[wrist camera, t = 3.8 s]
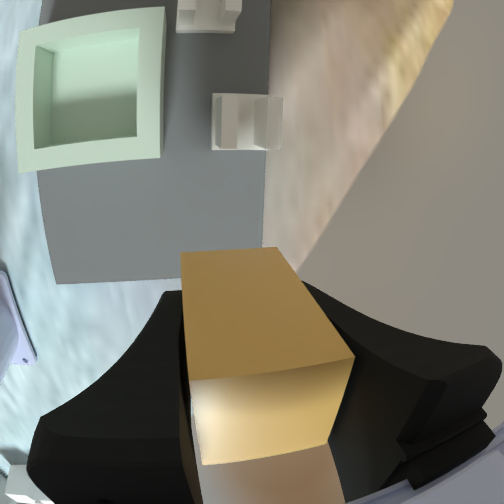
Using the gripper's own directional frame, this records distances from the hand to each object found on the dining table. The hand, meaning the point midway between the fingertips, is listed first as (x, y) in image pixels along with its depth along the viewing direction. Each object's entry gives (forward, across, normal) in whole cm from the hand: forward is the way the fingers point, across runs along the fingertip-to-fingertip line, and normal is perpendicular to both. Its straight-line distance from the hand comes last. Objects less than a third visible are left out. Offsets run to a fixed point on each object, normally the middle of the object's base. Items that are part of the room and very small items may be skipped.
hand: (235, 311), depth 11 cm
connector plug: (+1, 0, 0) cm, 1 cm away
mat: (+9, +4, -6) cm, 11 cm away
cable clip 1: (+8, 0, -12) cm, 15 cm away
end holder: (+8, +6, -8) cm, 13 cm away
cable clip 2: (+8, -2, -6) cm, 10 cm away
